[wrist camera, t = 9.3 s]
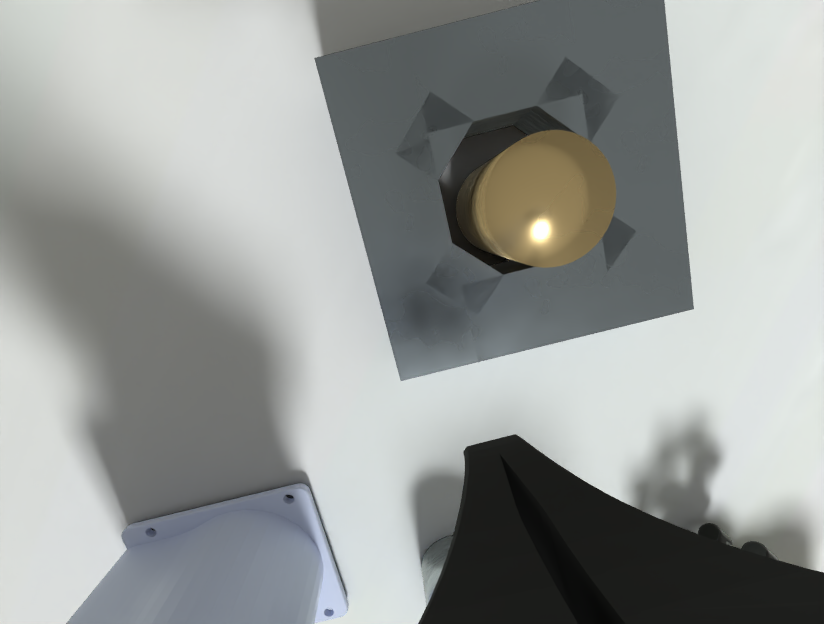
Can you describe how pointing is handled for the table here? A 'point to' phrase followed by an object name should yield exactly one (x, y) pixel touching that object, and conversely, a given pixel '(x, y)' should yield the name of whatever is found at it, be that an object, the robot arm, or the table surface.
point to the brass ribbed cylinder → (539, 200)
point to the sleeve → (434, 565)
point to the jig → (530, 112)
